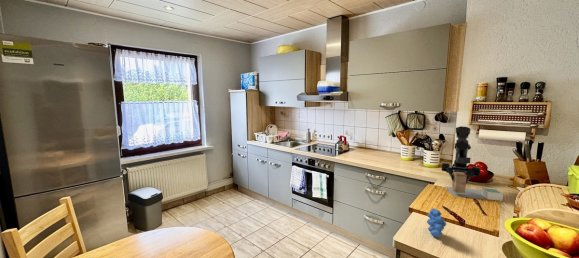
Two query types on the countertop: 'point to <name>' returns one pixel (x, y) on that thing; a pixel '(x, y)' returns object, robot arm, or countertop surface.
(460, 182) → the walnut pillar
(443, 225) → the grapes
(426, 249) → the countertop surface
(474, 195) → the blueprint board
